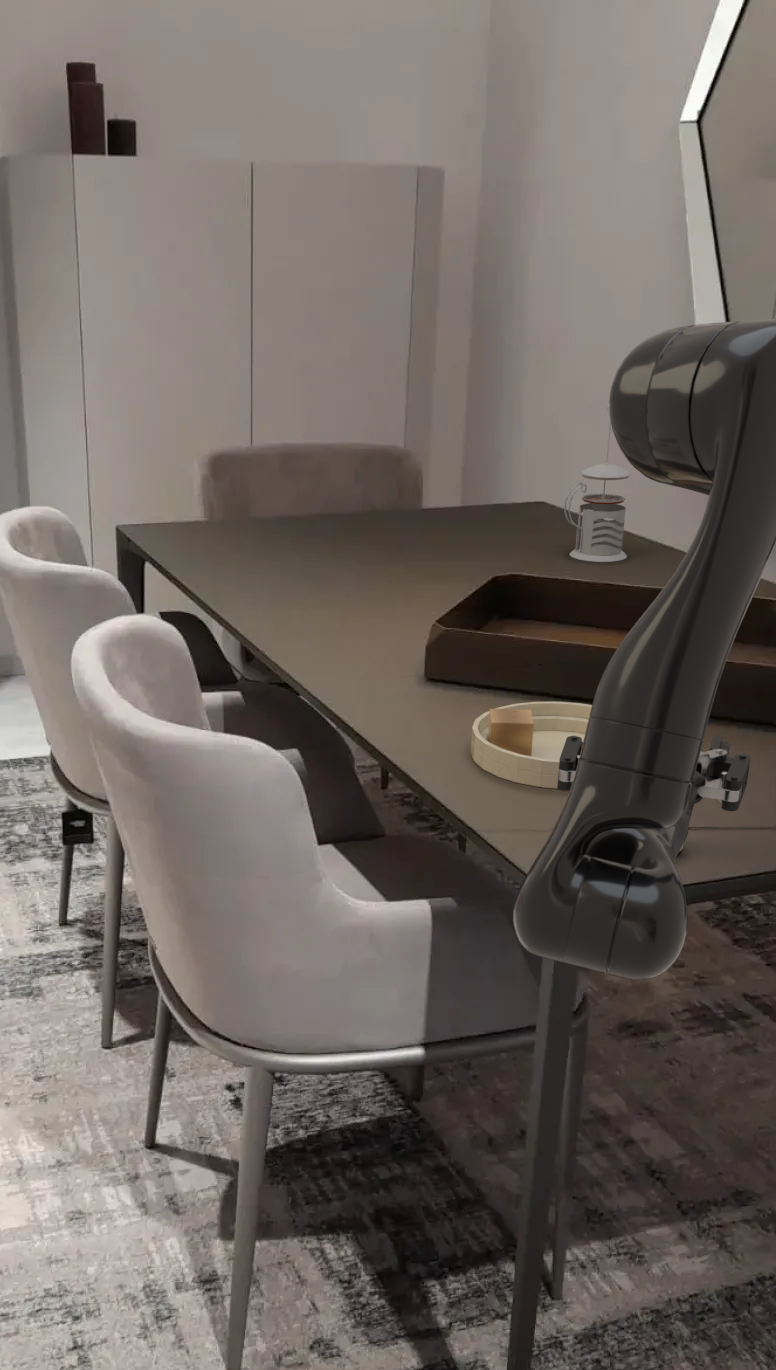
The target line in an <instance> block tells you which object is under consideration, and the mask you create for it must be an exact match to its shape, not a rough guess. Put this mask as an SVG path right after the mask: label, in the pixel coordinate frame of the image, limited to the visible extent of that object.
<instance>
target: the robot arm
mask: <svg viewBox="0 0 776 1370" xmlns="http://www.w3.org/2000/svg"><path fill="white" fill-rule="evenodd" d="M608 404H609V411H608V412H609V420H611V430H612V433H613V436H614V438H615V440H616V442H617V445H618V447H619V448H620V450H621V452H622V454H623V456H624V457H625V458H626V460H627V461H628V462H629V464H630V465H631V466H632V467H633V468H634V469H635V470H637V471H638V473H640V474H641V475H643V476H644V477H645V478H647V479H649V480H651V481H654V482H657V483H660V484H665V485H669V486H671V487H676V488H681V489H685V490H689V491H693V492H695V493H699V494H703V495H707V496H708V498H707V499H708V500H707V504H706V507H705V511H704V513H703V516H702V519H701V521H700V524H699V527H698V530H697V532H696V534H695V535H694V538H693V540H692V543H691V544H690V546H689V548H688V550H687V552H686V554H685V555H684V556H683V558H682V560H681V561H680V563H679V565H678V566H677V568H675V571H674V573H673V574H672V576H671V577H670V578H669V580H668V581H667V583H666V584H665V585H664V587H662V589H661V590H660V592H659V593H658V595H657V596H656V597H655V598H654V600H653V601H652V602H651V603H650V604H649V606H648V607H647V608H646V610H645V611H644V612H643V613H642V614H641V616H639V618H638V620H636V622H635V623H634V624H633V625H632V627H631V628H630V629H629V631H628V632H627V634H626V635H625V636H624V638H623V639H622V640H621V641H620V643H619V644H618V646H617V647H616V649H615V651H614V652H613V654H612V656H611V658H610V659H609V661H608V663H607V665H606V667H605V668H604V670H603V672H602V675H601V677H600V680H599V682H598V684H597V688H596V690H595V694H594V697H593V700H592V703H591V705H592V708H591V711H590V715H589V716H590V717H589V720H588V724H587V728H586V732H585V737H584V741H583V742H582V738H581V737H578V736H569V737H567V739H566V742H565V745H564V747H563V750H562V753H561V756H560V760H559V772H558V785H557V788H558V789H557V790H560V791H562V792H563V791H564V792H568V795H567V797H566V799H565V802H564V804H563V807H562V809H561V811H560V813H559V816H558V817H557V820H556V821H555V824H554V826H553V828H552V830H551V831H550V833H549V836H548V837H547V839H546V841H545V842H544V844H543V846H542V848H541V849H540V851H539V853H538V855H537V857H536V858H535V860H534V861H533V863H532V864H531V866H530V868H529V870H528V871H527V873H526V875H525V877H524V879H523V881H522V883H521V885H520V886H519V889H518V891H517V894H516V896H515V900H514V903H513V910H512V922H513V927H514V928H513V929H514V931H515V935H516V937H517V939H518V940H519V943H520V945H521V946H522V947H523V948H524V949H525V950H526V951H527V952H528V953H530V954H532V955H534V956H537V957H539V958H541V959H542V958H543V959H546V960H550V961H555V962H558V963H562V964H567V965H569V966H570V965H571V966H575V967H578V968H580V969H581V968H582V969H585V970H589V971H593V972H598V973H601V974H606V973H607V974H608V975H609V976H614V977H617V978H621V979H625V980H628V981H630V980H631V981H646V980H651V979H653V978H657V976H659V975H662V974H663V973H665V972H666V971H667V970H669V968H671V966H673V964H674V963H676V961H677V960H678V957H679V956H680V954H681V952H682V949H683V947H684V944H685V940H686V936H687V930H688V920H689V919H688V902H687V897H686V891H685V889H684V884H683V881H682V879H681V876H680V874H679V871H678V869H677V867H676V865H675V862H676V859H677V856H678V854H679V853H680V852H681V851H680V849H681V847H682V845H683V844H684V843H685V842H686V840H687V837H688V835H689V825H690V820H691V818H692V814H693V810H694V806H695V804H697V803H699V802H701V801H703V799H705V798H706V799H713V800H717V802H718V803H720V804H721V810H724V811H727V812H737V811H738V810H739V808H740V805H741V802H742V800H743V797H744V795H745V792H746V788H747V785H748V778H749V773H750V772H749V771H750V765H751V760H752V759H751V756H750V755H748V754H744V753H741V754H735V755H734V757H731V756H729V753H730V746H731V744H730V743H729V741H723V735H717V734H713V735H712V740H711V743H710V746H709V750H707V751H702V749H703V743H704V739H705V736H706V733H707V728H708V723H709V719H710V716H711V712H712V708H713V705H714V702H715V697H716V695H717V690H718V687H719V683H720V681H721V678H722V675H723V672H724V669H725V665H726V663H727V660H728V657H729V655H730V652H731V649H732V647H733V644H734V642H735V639H736V637H737V635H738V632H739V630H740V628H741V625H742V622H743V620H744V618H745V615H746V614H747V613H746V612H747V611H748V608H749V606H750V604H751V602H752V599H753V597H754V595H755V594H756V590H757V588H758V586H759V584H760V581H761V579H762V577H763V575H764V572H765V571H766V568H767V565H768V563H769V560H770V558H771V556H772V553H773V551H774V550H775V547H776V319H774V318H773V319H772V318H771V319H770V318H768V319H767V318H766V319H750V320H736V321H724V322H723V321H722V322H721V321H720V322H711V323H708V322H707V323H697V324H686V325H682V326H677V327H673V328H669V329H665V330H663V331H660V332H658V333H656V334H654V335H652V336H650V337H647V338H646V339H644V340H643V341H642V342H640V343H638V344H637V345H636V346H635V347H634V348H633V349H632V350H631V351H630V352H629V353H628V354H627V356H626V357H624V359H622V361H621V363H620V365H619V366H618V368H617V370H616V373H615V375H614V378H613V381H612V383H611V386H610V392H609V399H608ZM683 846H684V845H683ZM679 851H680V852H679Z"/></svg>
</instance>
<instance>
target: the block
mask: <svg viewBox="0 0 776 1370" xmlns="http://www.w3.org/2000/svg"><path fill="white" fill-rule="evenodd" d="M489 711H490V713H489V728H488V742H490V743H492V744H494V745H496V746H498V747H500V748H502V749H505V750H508V751H511V752H515V753H518V754H521V755H526V756H531V754H532V741H533V729H534V722H533V717H532V712H531V710H519V709H495V708H489Z"/></svg>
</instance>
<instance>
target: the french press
mask: <svg viewBox="0 0 776 1370" xmlns="http://www.w3.org/2000/svg"><path fill="white" fill-rule="evenodd" d="M605 411H607V412H610V411H609V403H608V404H607V405H606V407H605ZM609 420H610V419H609ZM608 429H609V430H608V437H607V438H608V439H607V450H606V460H605V462H604V463H600V464H599V463H598V464H596V465H593V466H590V467H587V468H586V469H585V470H583V471H582V472H581V476H582V477H583V479H584V478H585V479H589V480H598V481H599V480H600V481H603V491H602V493H601V494H599V493H589V494H585V495H583V496H582V498H581V499H582V501H583V502H585V503H583V504H581V505H580V506H578V507H579V508H578V519H577V524H576V523H575V522H574V521H573V518H572V515H571V505H572V501H573V498H574V496H575V494H576V493H577V492H578V490H579V489H580V491H581V492H582V493H587V488H588V485H587V484H586V483H582V482H578V483H576V484H574V485H573V486H572V487H571V488H570V489H569V490H568V492H567V494H566V497H565V499H564V506H563V507H564V508H563V509H564V516H565V519H566V521H567V522H568V523H569V524H570V525H571V526H574V527H575V528H576V535H575V536H576V538H575V548H574V549H573V550H572V551H571V552H570V553H568V554H569V556H570V557H571V558H573V559H575V560H580V561H585V562H595V563H597V562H598V563H606V562H607V563H608V562H609V563H613V562H618V561H623V560H625V559H627V558H628V555H627V554H626V553H625V551H623V550H622V549H623V541H624V540H623V539H624V530H625V521H626V510H627V509H626V506H625V505H622V504H623V503H624V501H625V500H626V498H625V497H624V496H621V495H618V494H612V493H610V494H607V493H605V491H606V482H607V481H618V480H626V479H629V477H630V476H631V472H629V471H627V470H626V469H625V468H623V467H621V466H619V465H617V464H613V463H610V462H608V459H609V449H610V441H611V439H610V438H611V430H612V425H611V420H610V421H609V427H608ZM578 485H580V486H578ZM577 486H578V487H577ZM575 487H577V488H576V489H575ZM583 487H584V490H583ZM574 489H575V490H574ZM573 490H574V492H573V493H572V495H571V497H570V500H569V503H568V514H567V501H568V499H569V496H570V494H571V492H572V491H573ZM568 516H569V517H568ZM607 519H610V520H607ZM595 521H596V522H597V523H595ZM594 529H597V530H594ZM595 536H596V537H597V538H595Z"/></svg>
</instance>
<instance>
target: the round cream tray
mask: <svg viewBox="0 0 776 1370" xmlns="http://www.w3.org/2000/svg"><path fill="white" fill-rule="evenodd" d="M591 708H592V704H589V703H582V702H569V701H531V702H519V703H518V702H517V703H512V704H508V705H504V706H499V707H496V708H494V709H519V710H531V712H532V717H533V722H534V729H533V741H532V754H531V756H526V755H521V754H518V753H515V752H511V751H508V750H505V749H502V748H500V747H498V746H496V745H494V744H492V743H490V742H488V728H489V713H490V710H488V711H485V712H483V713H481V715H479V716H478V717H476V718H475V719H474V722H473V724H472V726H471V741H470V755H471V757H472V760H473V762H474V763H475V764H477V765H478V766H479V767H480V768H481V769H482V770H484V771H486V772H488V773H489V774H491V775H493V776H495V777H497V778H500V779H503V780H507V781H510V782H513V783H516V784H522V785H526V786H531V787H537V788H544V789H555V790H556V789H557V790H559V789H558V788H557V785H558V772H559V760H560V756H561V753H562V750H563V747H564V745H565V742H566V739H567V737H569V736H578V737H581V738H582V742H583V741H584V737H585V732H586V728H587V724H588V720H589V717H590V716H589V715H590V711H591Z"/></svg>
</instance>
